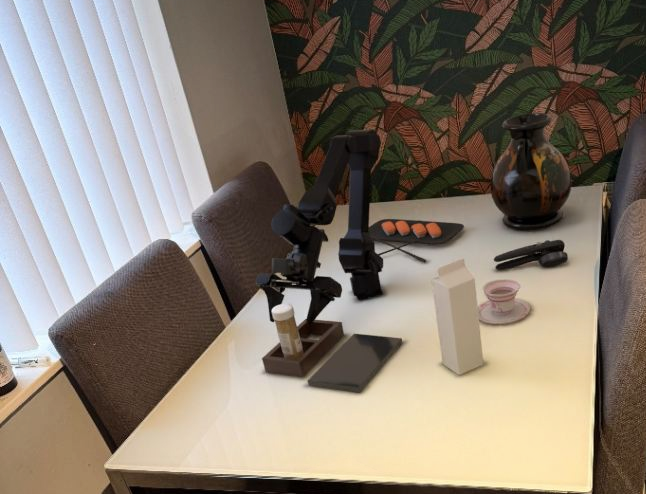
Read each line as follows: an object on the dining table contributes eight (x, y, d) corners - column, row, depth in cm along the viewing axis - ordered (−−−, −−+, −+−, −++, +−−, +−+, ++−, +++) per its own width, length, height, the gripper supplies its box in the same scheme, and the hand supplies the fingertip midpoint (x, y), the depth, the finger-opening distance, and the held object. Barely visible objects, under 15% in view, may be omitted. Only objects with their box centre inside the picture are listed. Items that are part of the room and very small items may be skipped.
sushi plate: (468, 230, 214) (467, 217, 212) (415, 274, 194) (413, 260, 192) (382, 224, 229) (380, 211, 227) (325, 264, 209) (322, 251, 207)
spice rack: (308, 332, 176) (305, 318, 174) (344, 335, 171) (341, 321, 170) (265, 372, 163) (261, 358, 161) (302, 377, 158) (299, 362, 157)
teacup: (540, 306, 168) (539, 280, 165) (509, 329, 162) (507, 303, 158) (496, 296, 176) (494, 271, 173) (464, 318, 169) (461, 293, 166)
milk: (483, 364, 151) (474, 262, 140) (458, 375, 149) (446, 273, 138) (466, 353, 156) (455, 253, 145) (441, 364, 154) (428, 263, 142)
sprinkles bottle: (310, 362, 163) (296, 306, 156) (291, 371, 161) (277, 314, 154) (300, 355, 167) (286, 300, 160) (282, 363, 165) (267, 308, 158)
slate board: (354, 338, 170) (353, 333, 169) (402, 342, 164) (402, 338, 164) (308, 385, 155) (307, 380, 155) (359, 392, 150) (358, 387, 149)
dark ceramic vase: (565, 236, 199) (561, 127, 185) (485, 237, 208) (475, 133, 193) (578, 206, 216) (575, 105, 201) (503, 208, 224) (496, 111, 210)
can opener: (564, 255, 190) (563, 233, 187) (569, 266, 184) (568, 244, 181) (493, 264, 191) (491, 243, 189) (495, 275, 186) (493, 254, 183)
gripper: (249, 237, 160) (231, 308, 157) (324, 240, 151) (307, 315, 149) (278, 257, 170) (262, 324, 167) (350, 260, 161) (334, 331, 159)
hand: (289, 323), depth 160 cm, fingers open, 9 cm apart
